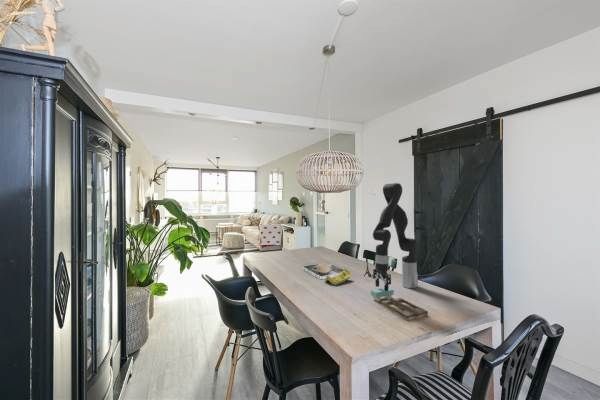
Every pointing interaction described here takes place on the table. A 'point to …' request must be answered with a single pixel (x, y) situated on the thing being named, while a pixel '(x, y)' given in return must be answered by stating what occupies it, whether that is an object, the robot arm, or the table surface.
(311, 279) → the table surface
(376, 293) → the panel
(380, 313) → the table surface
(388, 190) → the robot arm
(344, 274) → the plastic component
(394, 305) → the slot board
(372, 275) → the eiffel tower figurine
